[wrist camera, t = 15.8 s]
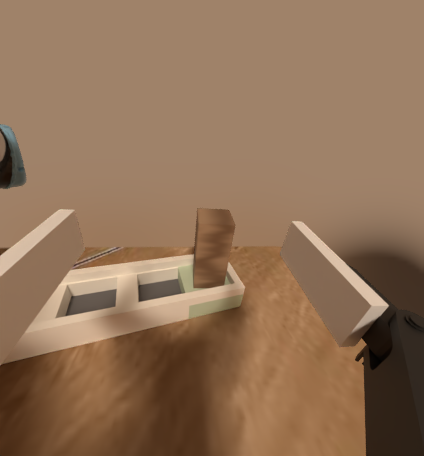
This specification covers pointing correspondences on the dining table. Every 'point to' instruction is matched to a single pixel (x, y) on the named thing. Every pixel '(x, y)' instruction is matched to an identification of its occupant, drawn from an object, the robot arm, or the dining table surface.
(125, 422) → the dining table surface
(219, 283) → the walnut block
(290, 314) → the dining table surface
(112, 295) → the tray
